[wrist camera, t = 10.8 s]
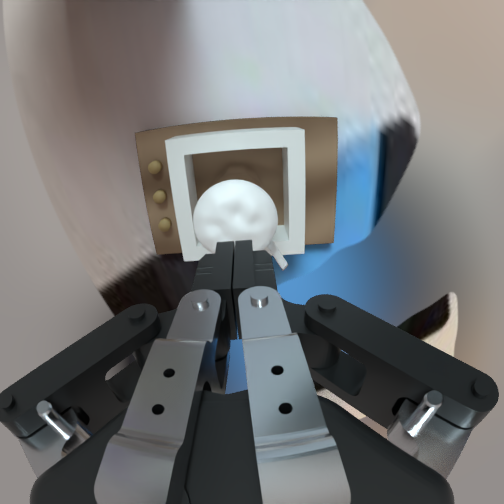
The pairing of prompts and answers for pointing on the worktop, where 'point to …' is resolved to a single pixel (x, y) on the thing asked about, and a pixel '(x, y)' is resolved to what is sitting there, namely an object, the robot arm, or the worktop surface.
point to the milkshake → (237, 212)
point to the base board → (259, 160)
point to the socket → (289, 138)
